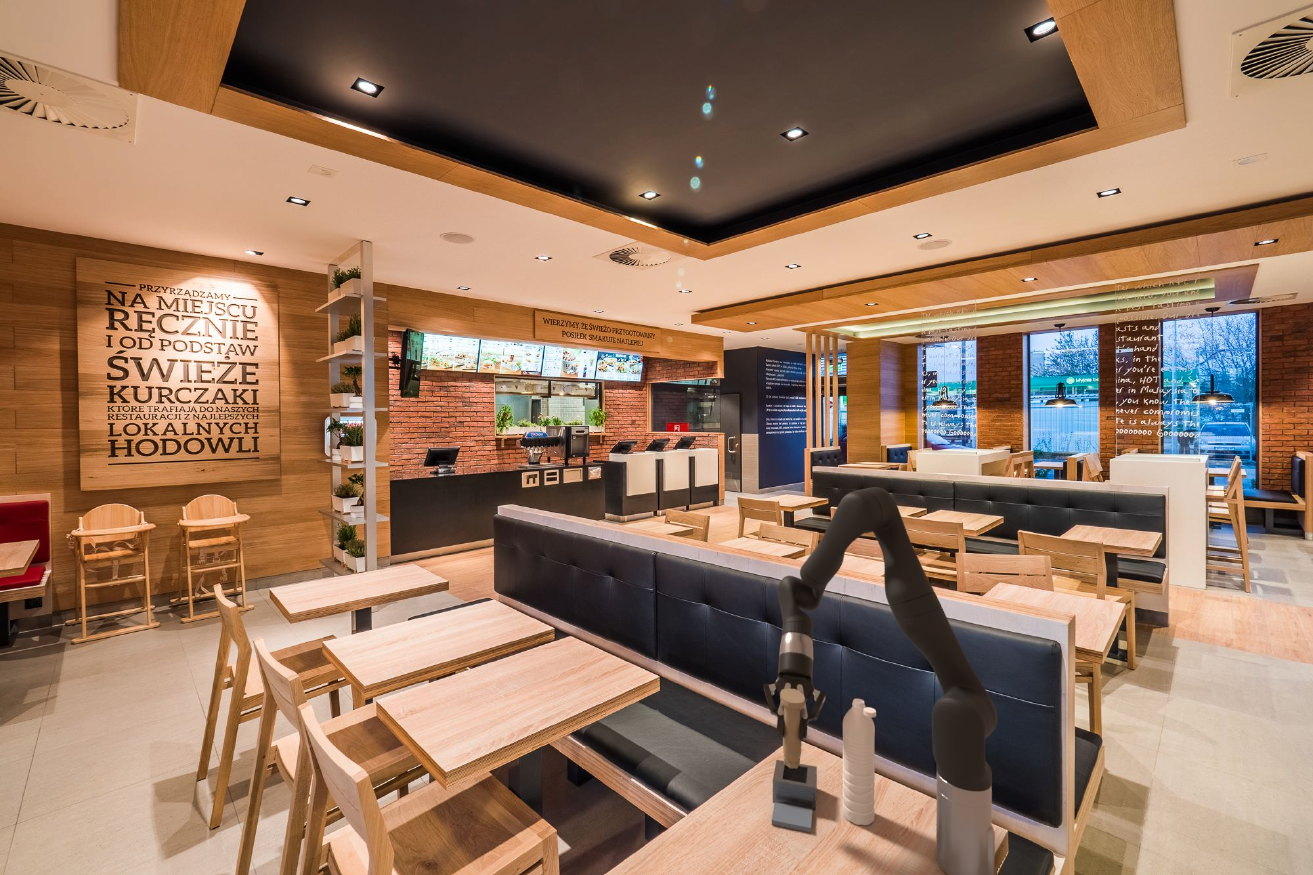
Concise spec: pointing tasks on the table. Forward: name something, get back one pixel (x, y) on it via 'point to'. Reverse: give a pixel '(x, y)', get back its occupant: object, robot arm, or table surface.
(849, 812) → the water bottle
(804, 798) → the socket block
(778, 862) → the table surface
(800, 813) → the rubber mat
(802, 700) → the handle
